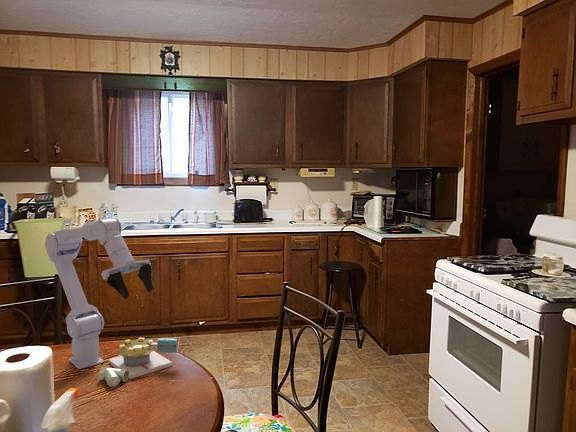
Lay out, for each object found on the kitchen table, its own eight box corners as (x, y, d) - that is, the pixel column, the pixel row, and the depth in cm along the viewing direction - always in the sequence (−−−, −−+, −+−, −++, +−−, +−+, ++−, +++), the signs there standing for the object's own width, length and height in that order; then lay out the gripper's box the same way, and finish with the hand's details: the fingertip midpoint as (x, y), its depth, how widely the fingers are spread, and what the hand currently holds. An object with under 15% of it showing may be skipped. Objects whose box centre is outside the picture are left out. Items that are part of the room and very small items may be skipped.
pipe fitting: (117, 390, 130) (130, 378, 136) (116, 378, 129) (129, 366, 135) (92, 388, 131) (106, 376, 138) (91, 375, 130) (105, 364, 137)
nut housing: (108, 362, 147) (108, 350, 147) (149, 351, 157) (149, 339, 156) (129, 379, 135) (128, 365, 135) (171, 365, 145) (171, 353, 144)
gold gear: (114, 357, 140) (114, 344, 140) (127, 345, 150) (127, 333, 150) (172, 358, 139) (171, 345, 139) (181, 346, 149) (180, 333, 149)
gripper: (100, 251, 125) (120, 293, 121) (146, 242, 136) (166, 280, 132) (92, 264, 129) (111, 305, 125) (137, 254, 140) (156, 291, 136)
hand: (139, 293), depth 129 cm, fingers open, 7 cm apart
